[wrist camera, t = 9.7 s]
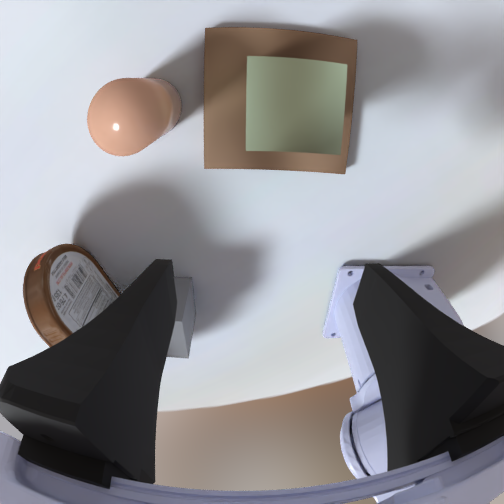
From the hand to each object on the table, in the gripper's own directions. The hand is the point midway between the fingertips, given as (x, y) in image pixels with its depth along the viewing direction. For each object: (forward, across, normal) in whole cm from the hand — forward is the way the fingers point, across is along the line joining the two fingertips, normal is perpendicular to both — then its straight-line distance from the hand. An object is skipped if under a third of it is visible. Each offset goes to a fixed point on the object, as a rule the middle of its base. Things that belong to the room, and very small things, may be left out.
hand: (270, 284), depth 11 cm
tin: (+11, +12, +10) cm, 19 cm away
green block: (+10, -1, -6) cm, 11 cm away
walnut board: (+10, -1, -6) cm, 12 cm away
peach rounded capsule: (+11, +7, -5) cm, 14 cm away
